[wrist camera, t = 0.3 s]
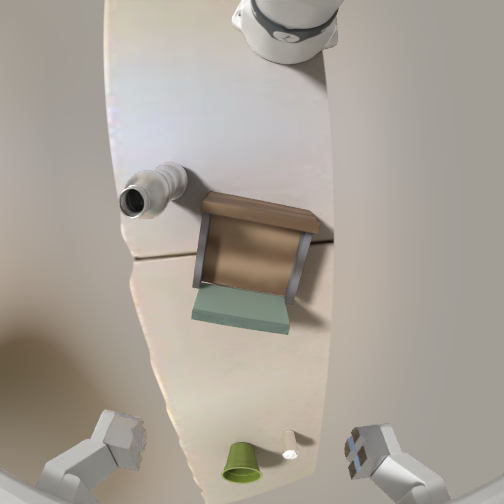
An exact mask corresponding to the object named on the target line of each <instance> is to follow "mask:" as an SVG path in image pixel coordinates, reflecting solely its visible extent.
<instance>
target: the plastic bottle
mask: <svg viewBox="0 0 504 504" xmlns="http://www.w3.org/2000/svg"><path fill="white" fill-rule="evenodd" d="M187 183H188V177H187V173H186V171H185V170H184V168H183V167H182V166H180V165H179V164H177V163H174V162H165V163H162V164H160V165H159V166H158V167H156V168H155V170H144V171H140V172H137V173H136V174H134V175H133V176H132V177H131V178H130V179H129V180H128V182H127V184H126V186H125V189H124V190H123V191H122V193H121V194H120V196H119V200H118V205H119V208H120V211H121V212H122V213H123V214H124V215H125V216H126V217H128V218H137V217H138V218H141V219H152V218H155V217H157V216H158V215H160V214H161V213H162V212H163V211H164V209H165V208H166V206H167V205H168V203H169V201H173V200H175V199H178V198H179V197H181V196H182V194H183V193H184V192H185V190H186V187H187Z"/></svg>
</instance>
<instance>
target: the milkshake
mask: <svg viewBox="0 0 504 504" xmlns="http://www.w3.org/2000/svg"><path fill="white" fill-rule="evenodd" d="M298 455H299V451H298V447H297V444H296V440H295V435H294V431H292V430H287V431H285V432H283V457H284V458H286V459H294V458H296V457H298Z"/></svg>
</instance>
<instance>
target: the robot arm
mask: <svg viewBox="0 0 504 504" xmlns="http://www.w3.org/2000/svg"><path fill="white" fill-rule="evenodd" d="M343 1H344V0H241V2H240V4H239V6H238V8H237V9H236V11H235V13H234V15H233V17H232V21H231V22H232V24H233V26H234V27H236V28H237V29H238V30H239V31H241V32H242V33H243V35H244V37H245V39H246V41H247V43H248V44H249V46H250V47H251V48H252V49H253V50H254V51H255V52H256V53H257V54H258V55H260V56H261V57H263V58H265V59H267V60H270V61H272V62H276V63H281V64H296V63H300V62H304V61H306V60H308V59H310V58H312V57H313V56H315V55H316V54H317V53H318V52H320V51H321V50H323V49H328V48H331V47H334V46H335V45H336V44H337V42H338V34H337V19H336V15H337V12H338V8H339V6H340V5H341V3H342V2H343ZM240 14H241V17H240V16H239V15H240ZM142 426H143V420H142V418H140V417H135V416H131V415H127V414H123V413H118V412H115V411H111V410H106V409H105V410H104V411H103V412H102V414H101V416H100V419H99V421H98V423H97V425H96V428H95V430H94V432H93V435H92V437H91V439H86V440H84V441H83V442H81V443H79V444H78V445H76V446H74V447H73V448H71V449H69V450H68V451H66V452H64V453H63V454H61V455H59V456H58V457H56V458H54V459H52V460H51V461H49V462H47V463H46V465H45V467H44V469H43V471H42V474H41V476H40V478H39V480H38V482H37V485H36V487H35V486H32V485H30V484H29V483H27V482H25V481H23V480H21V479H19V478H17V477H16V476H14V475H12V474H10V473H9V472H7V471H5V470H4V469H2V468H0V504H99V502H98V500H97V499H96V498H95V497H94V496H93V494H92V493H91V491H92V490H93V489H94V488H95V487H97V486H98V485H99V484H100V483H102V482H103V481H104V480H105V479H106V478H107V477H109V476H110V475H111V474H112V473H113V472H115V471H116V470H117V469H118V467H120V468H125V469H129V470H134V471H139V468H140V464H141V460H142V457H141V455H140V453H141V452H142V451H143V450H145V446H146V438H147V436H146V430H145V429H144V428H143V427H142ZM351 434H352V436H351V437H350V438H348V439H347V441H346V443H345V456H346V459H347V460H348V461H349V462H351V463H350V465H349V467H348V469H349V472H350V476H351V479H352V480H353V479H360V478H367V477H370V479H371V480H372V481H373V482H375V484H376V485H377V486H379V488H381V489H382V490H383V491H384V492H385V493H386V494H387V495H388V496H389V497H390V498H391V499H392V500H393V501H394V502H395V503H396V504H504V474H502V475H500V476H498V477H497V478H495V479H493V480H491V481H489V482H487V483H485V484H484V485H482V486H480V487H478V488H476V489H474V490H472V491H469V492H467V493H465V494H463V495H461V496H459V497H456V498H454V499H452V500H451V499H450V496H449V494H448V491H447V489H446V486H445V484H444V482H443V480H442V477H440V476H439V475H437V474H436V473H434V472H433V471H431V470H430V469H428V468H427V467H425V466H424V465H423V464H421V463H420V462H418V461H417V460H415V459H414V458H412V457H411V456H410V455H408V454H407V453H406V452H402V451H401V449H400V446H399V444H398V441H397V439H396V437H395V434H394V432H393V430H392V427H391V425H390V424H389V423H386V424H380V425H371V426H363V427H355V428H354V429H353V430H352V432H351Z"/></svg>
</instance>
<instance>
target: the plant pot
mask: <svg viewBox="0 0 504 504" xmlns="http://www.w3.org/2000/svg"><path fill="white" fill-rule="evenodd" d="M221 476H222V478H223V479H225V480H227V481H229V482H233V483H240V484H246V483H253V482H256V481H258V480H260V479H261V478H262V473H261V472H260V470H259V467H258V465H257V460H256V456H255V451H254V447H253V446H252V445H251V444H247V443H244V442H240V443H235V444H233V445H232V446H231V448H230V452H229V456H228V459H227V463H226V466H225V468H224V471H223V472H222V473H221Z"/></svg>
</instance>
